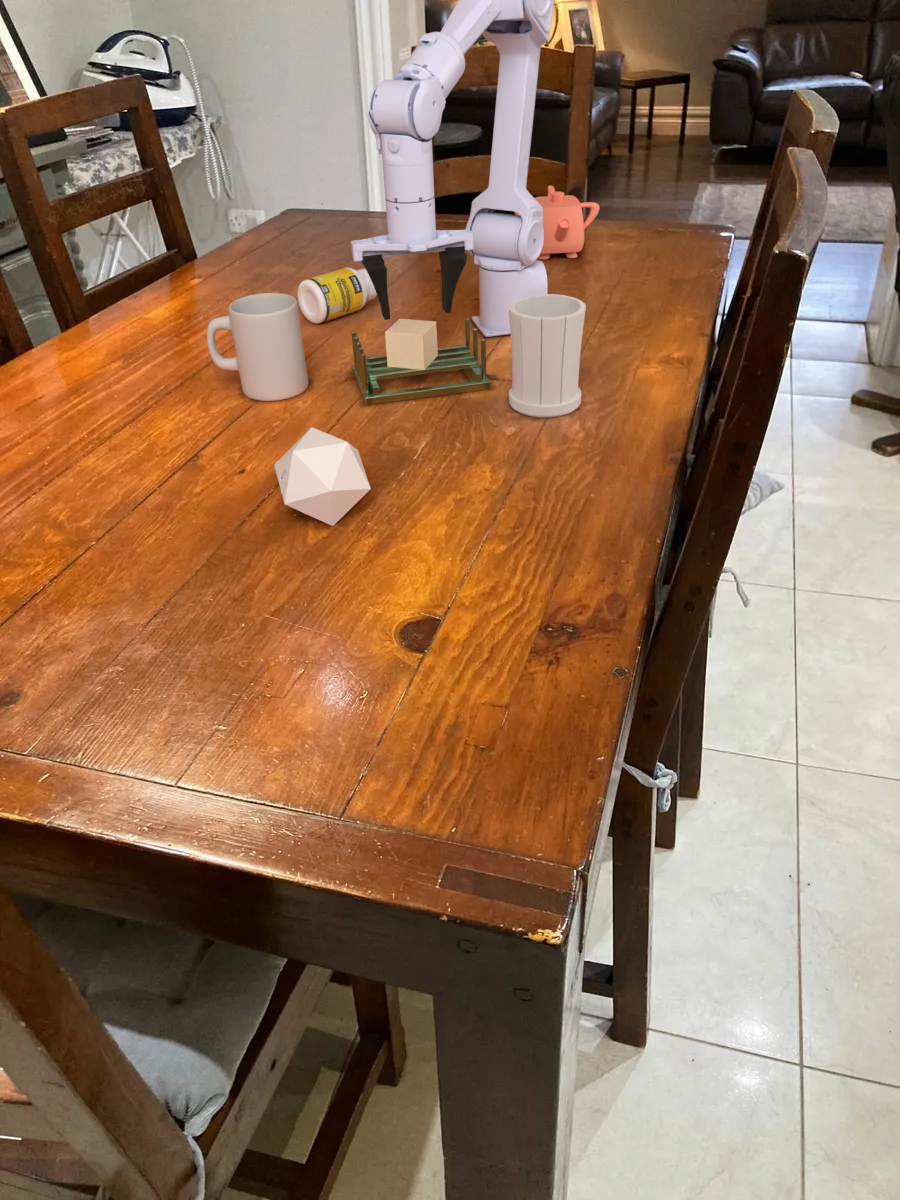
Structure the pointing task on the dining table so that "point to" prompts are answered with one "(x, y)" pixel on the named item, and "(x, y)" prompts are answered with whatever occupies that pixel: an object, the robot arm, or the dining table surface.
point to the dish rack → (422, 371)
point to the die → (322, 476)
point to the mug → (264, 346)
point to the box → (411, 344)
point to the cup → (546, 354)
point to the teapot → (564, 223)
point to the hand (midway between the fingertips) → (416, 313)
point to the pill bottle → (335, 294)
